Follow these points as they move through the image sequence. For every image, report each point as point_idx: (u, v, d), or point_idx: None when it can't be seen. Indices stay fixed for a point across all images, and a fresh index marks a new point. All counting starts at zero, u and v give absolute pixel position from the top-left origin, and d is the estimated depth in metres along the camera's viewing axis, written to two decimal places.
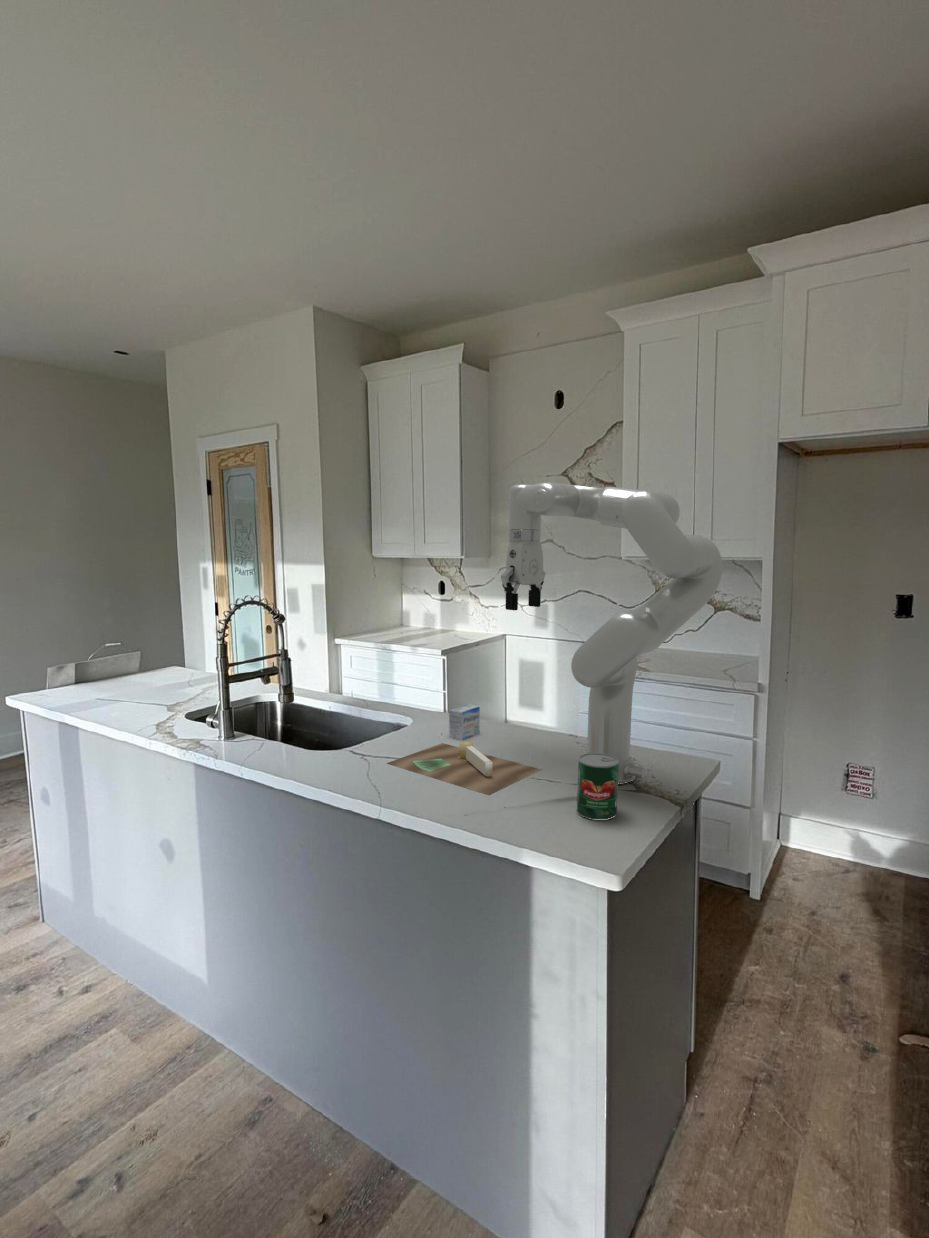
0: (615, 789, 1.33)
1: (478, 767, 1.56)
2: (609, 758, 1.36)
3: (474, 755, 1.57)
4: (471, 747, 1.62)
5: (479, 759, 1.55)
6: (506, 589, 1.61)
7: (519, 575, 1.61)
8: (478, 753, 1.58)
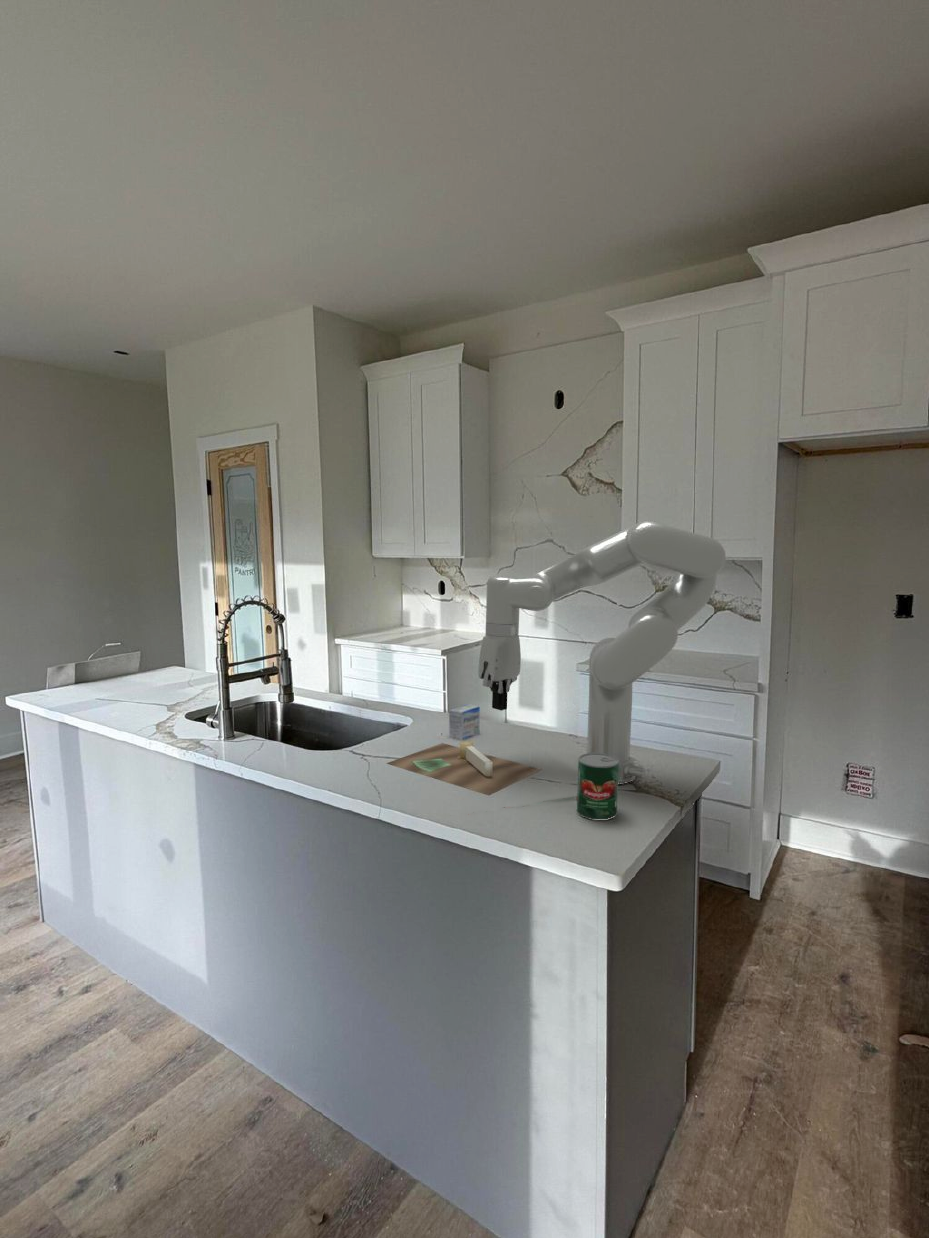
0: (615, 789, 1.33)
1: (478, 767, 1.56)
2: (609, 758, 1.36)
3: (474, 755, 1.57)
4: (471, 747, 1.62)
5: (479, 759, 1.55)
6: None
7: None
8: (478, 753, 1.58)
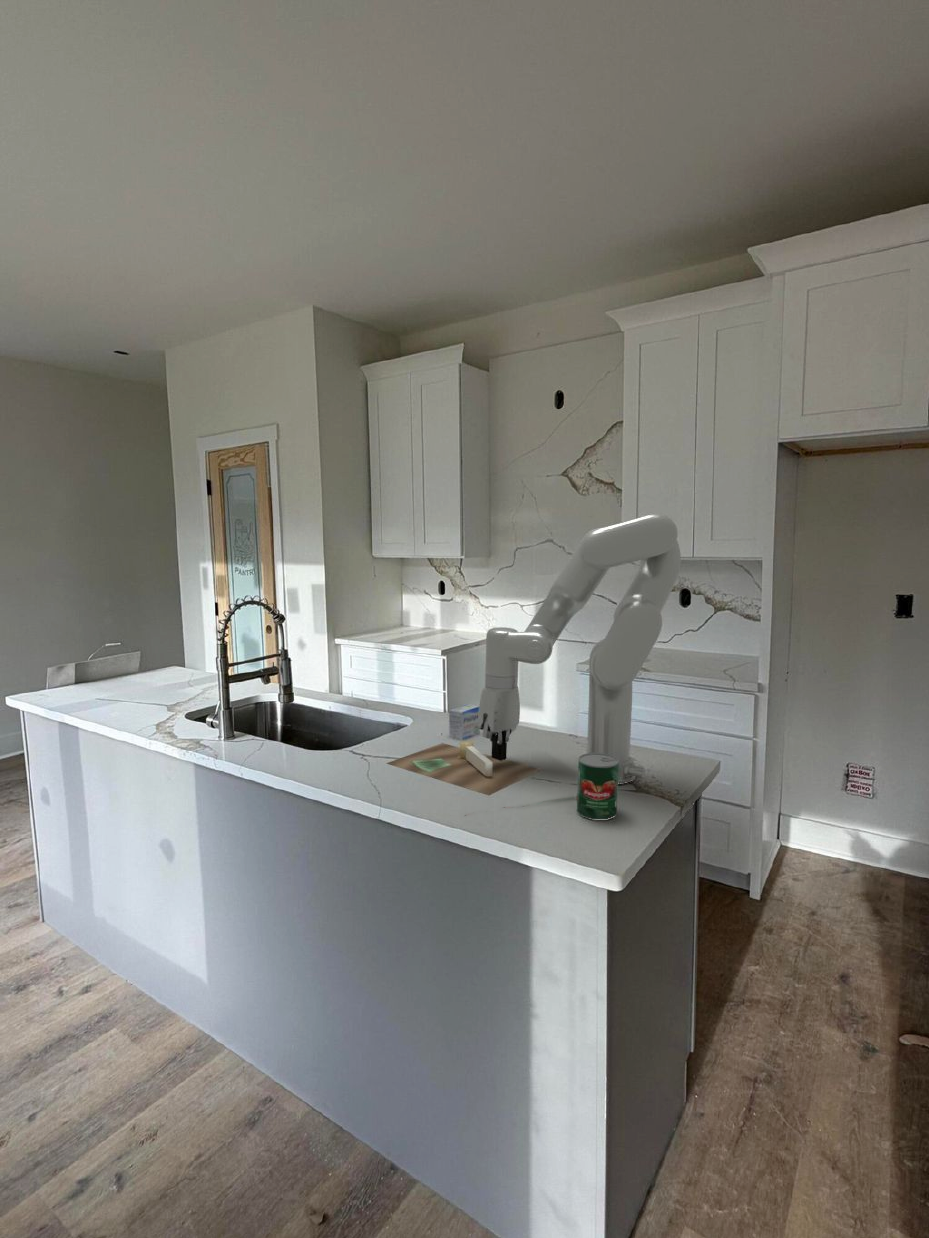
0: (615, 789, 1.33)
1: (478, 767, 1.56)
2: (609, 758, 1.36)
3: (474, 755, 1.57)
4: (471, 747, 1.62)
5: (479, 759, 1.55)
6: None
7: None
8: (478, 753, 1.58)
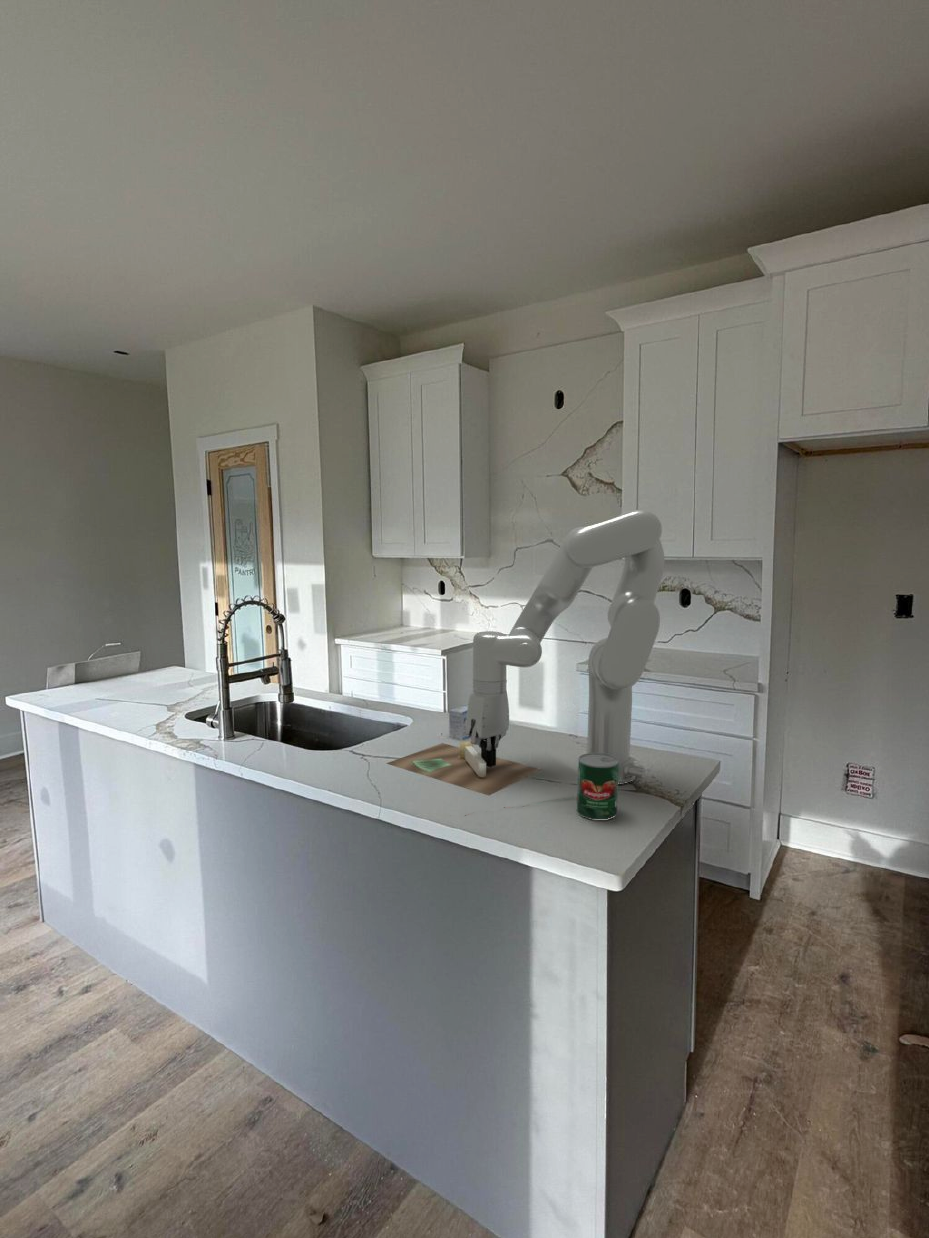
0: (615, 789, 1.33)
1: (474, 767, 1.55)
2: (609, 758, 1.36)
3: (471, 755, 1.57)
4: (470, 747, 1.62)
5: (475, 759, 1.54)
6: None
7: None
8: (475, 753, 1.58)
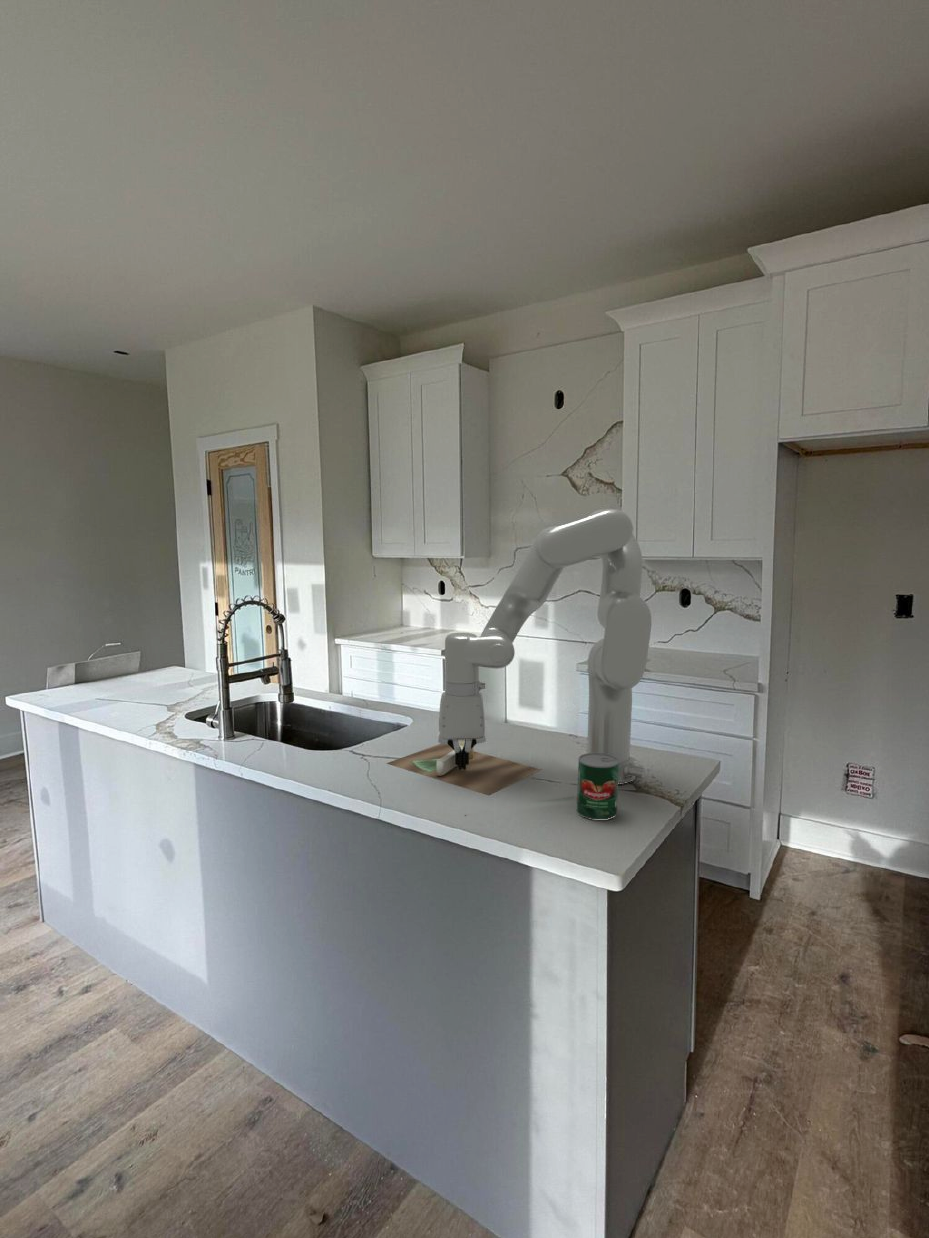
0: (615, 789, 1.33)
1: None
2: (609, 758, 1.36)
3: None
4: (462, 747, 1.62)
5: None
6: None
7: None
8: (454, 752, 1.58)
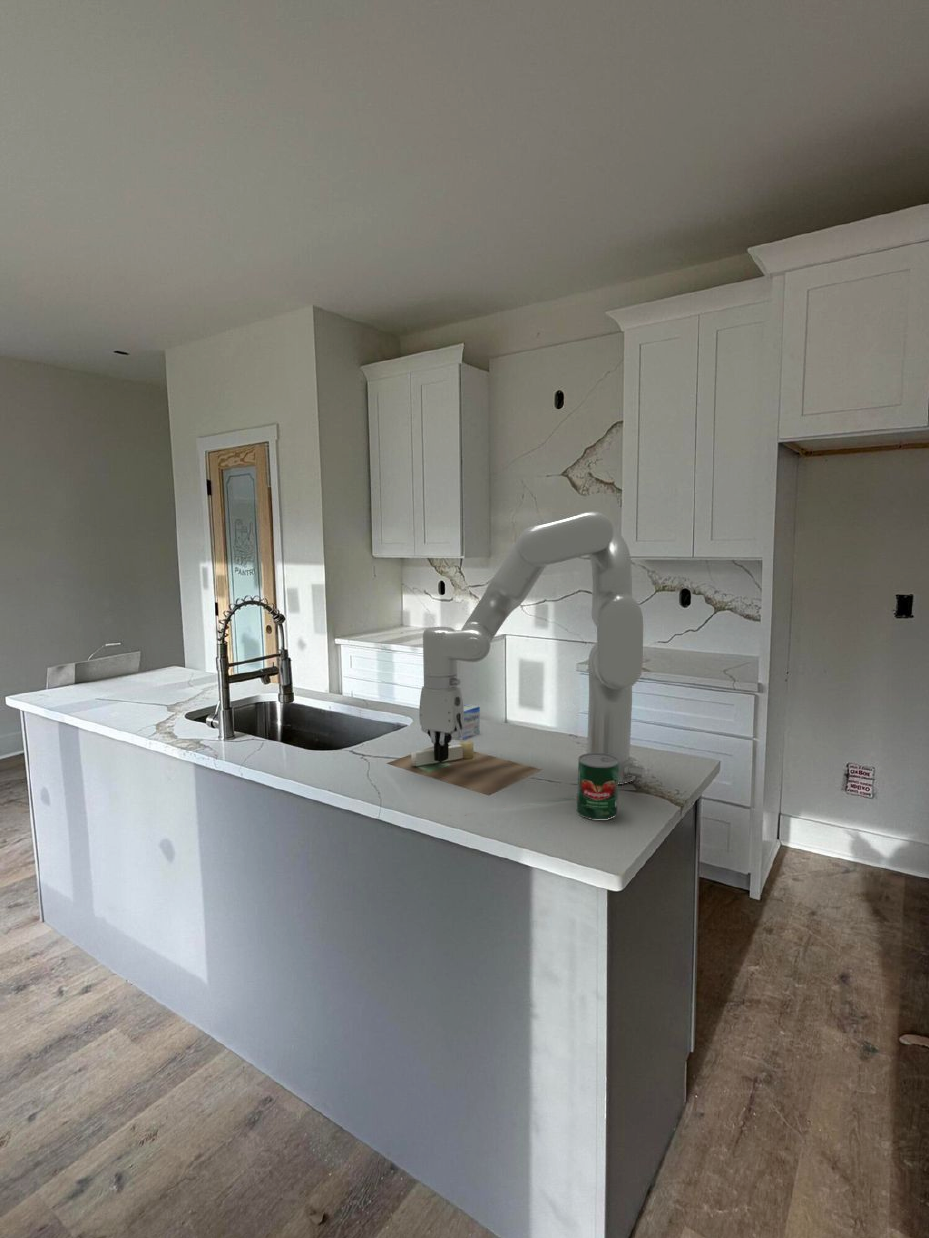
0: (615, 789, 1.33)
1: None
2: (609, 758, 1.36)
3: None
4: (457, 746, 1.63)
5: None
6: (448, 741, 1.56)
7: None
8: None
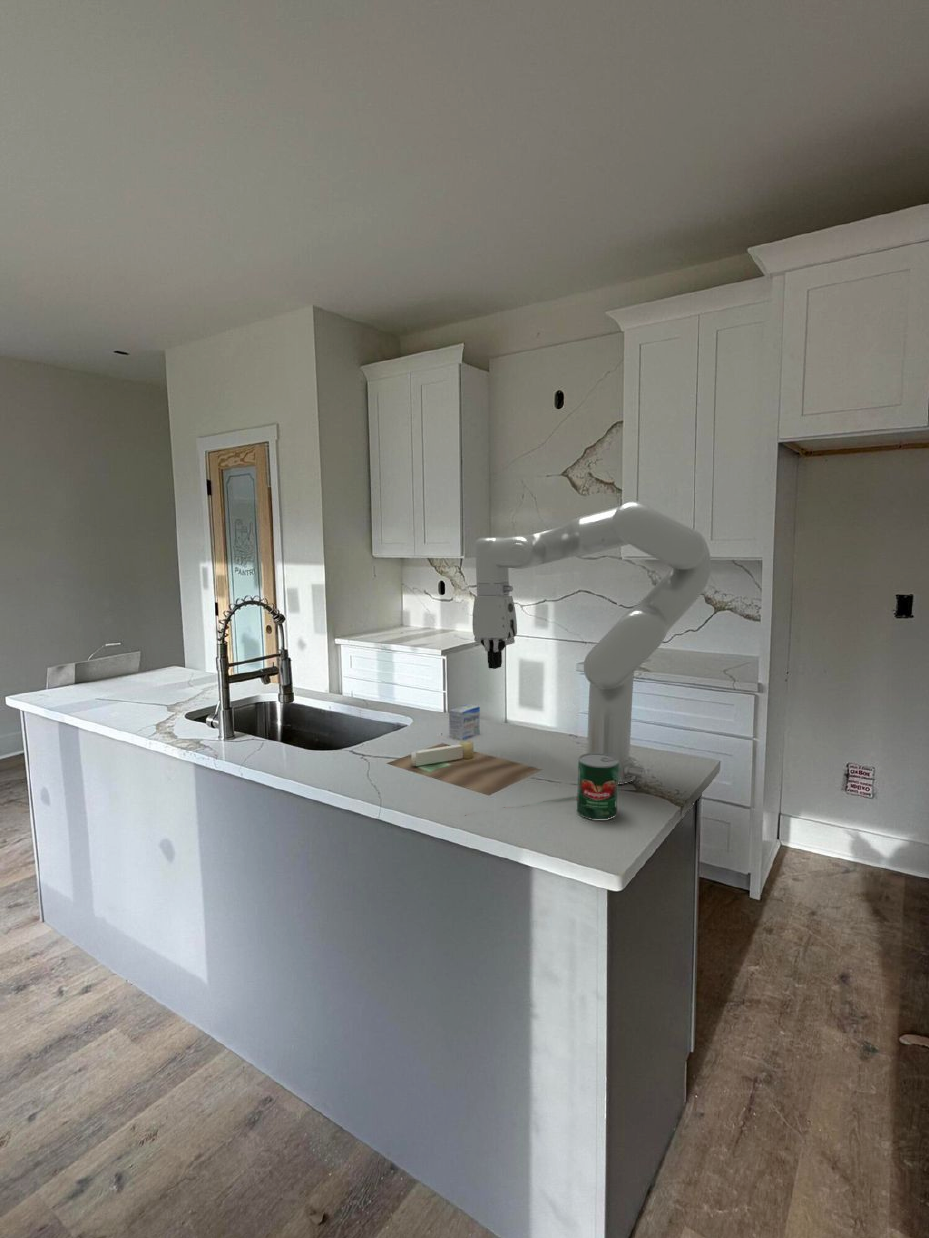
0: (615, 789, 1.33)
1: None
2: (609, 758, 1.36)
3: None
4: (457, 746, 1.63)
5: None
6: (502, 647, 1.61)
7: (516, 627, 1.61)
8: (440, 748, 1.61)
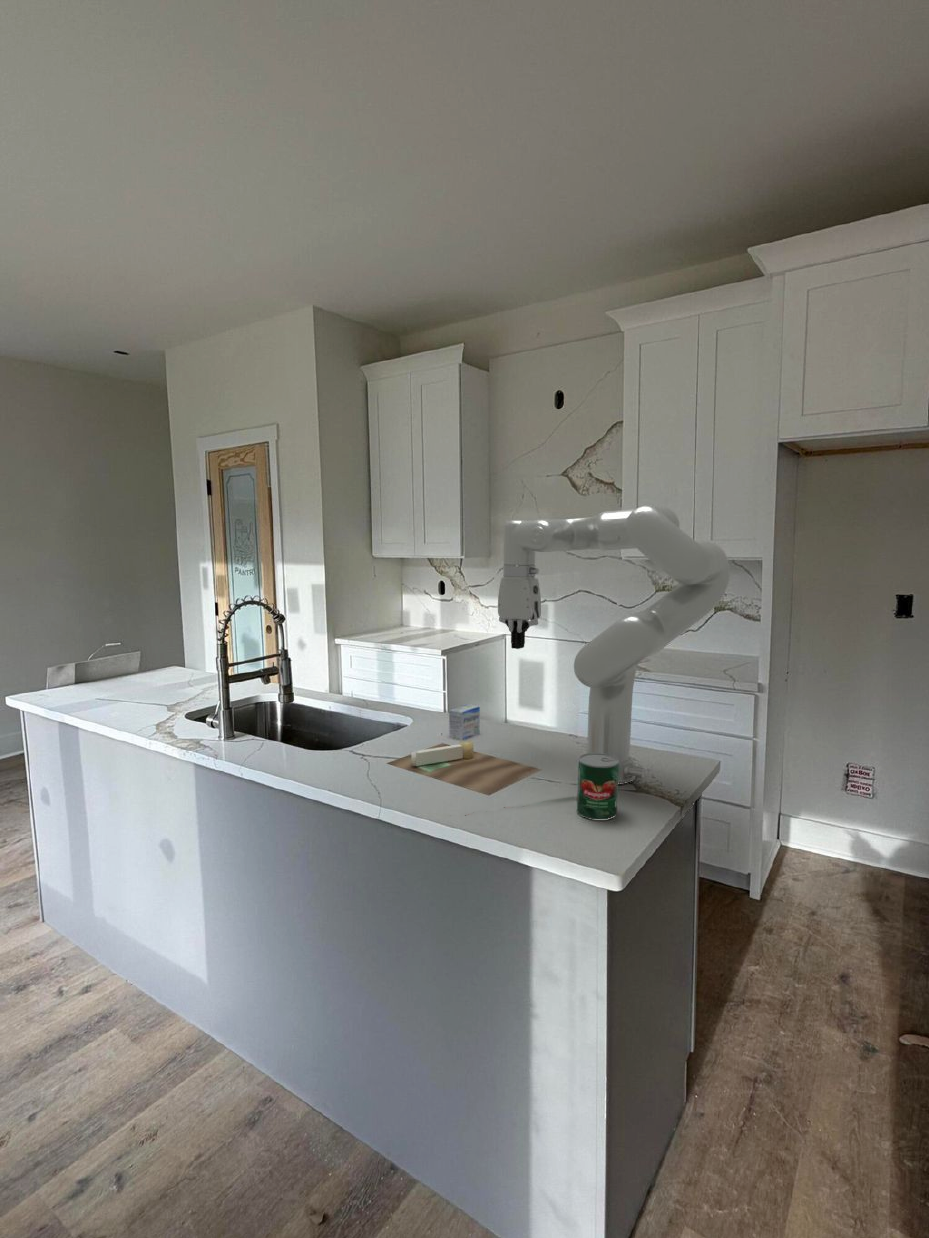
0: (615, 789, 1.33)
1: None
2: (609, 758, 1.36)
3: None
4: (457, 746, 1.63)
5: None
6: (525, 628, 1.65)
7: (540, 609, 1.64)
8: (440, 748, 1.61)
